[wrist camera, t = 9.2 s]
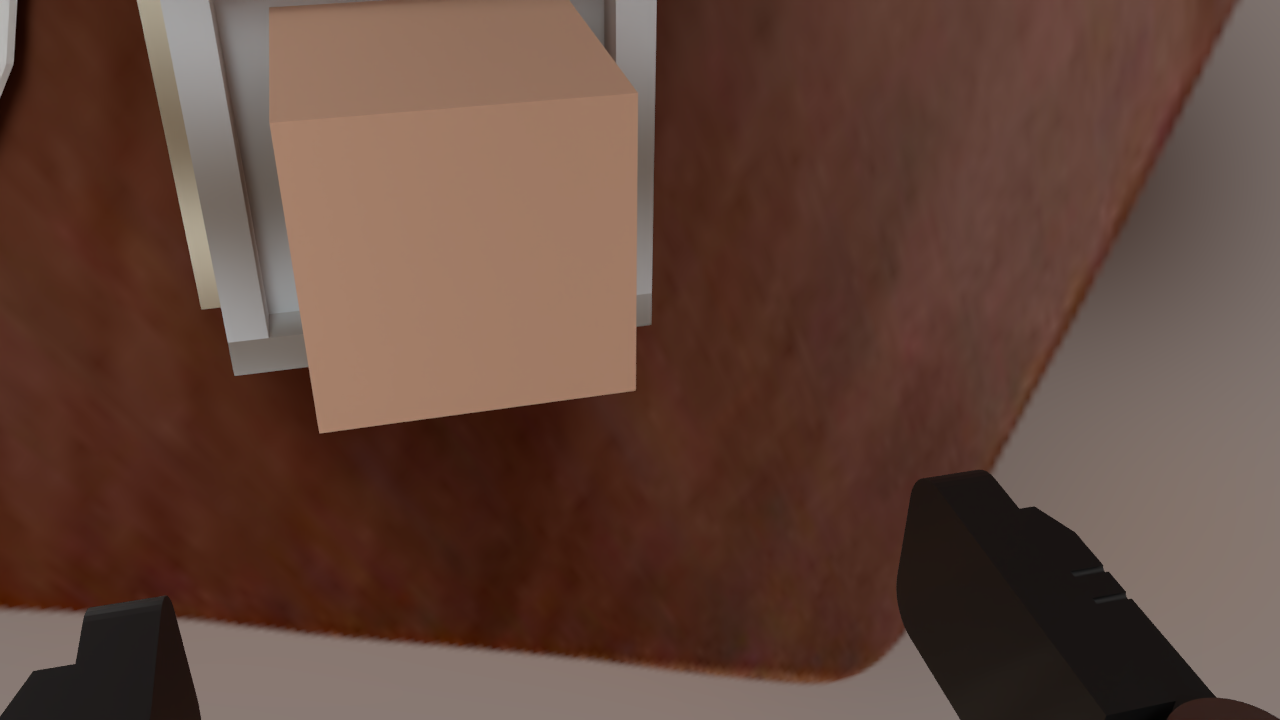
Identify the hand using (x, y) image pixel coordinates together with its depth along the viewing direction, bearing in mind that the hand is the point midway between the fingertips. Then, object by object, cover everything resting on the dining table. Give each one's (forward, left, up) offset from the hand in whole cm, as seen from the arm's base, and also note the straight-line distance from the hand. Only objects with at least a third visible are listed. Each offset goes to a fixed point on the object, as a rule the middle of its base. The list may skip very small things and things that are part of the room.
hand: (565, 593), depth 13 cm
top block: (0, 0, -14) cm, 14 cm away
